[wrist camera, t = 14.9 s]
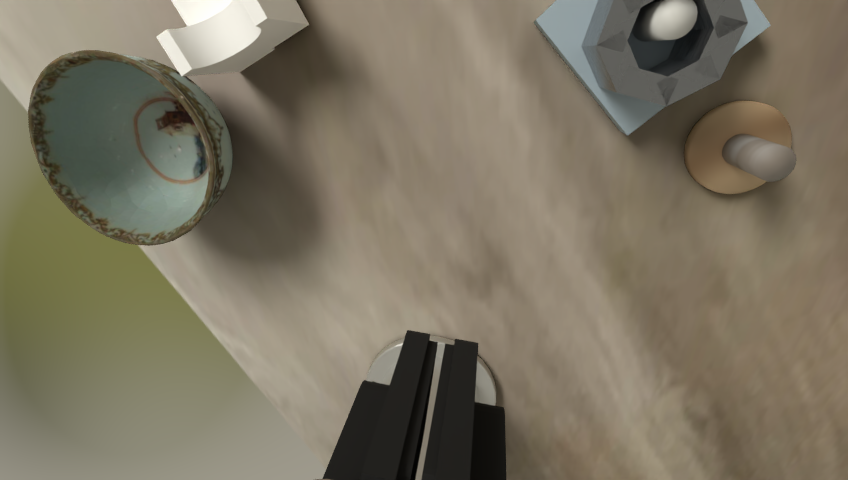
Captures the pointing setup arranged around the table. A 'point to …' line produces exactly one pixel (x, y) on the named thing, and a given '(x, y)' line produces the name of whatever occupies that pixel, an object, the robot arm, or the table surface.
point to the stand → (739, 147)
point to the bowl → (129, 145)
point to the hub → (646, 41)
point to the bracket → (229, 33)
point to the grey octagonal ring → (689, 58)
